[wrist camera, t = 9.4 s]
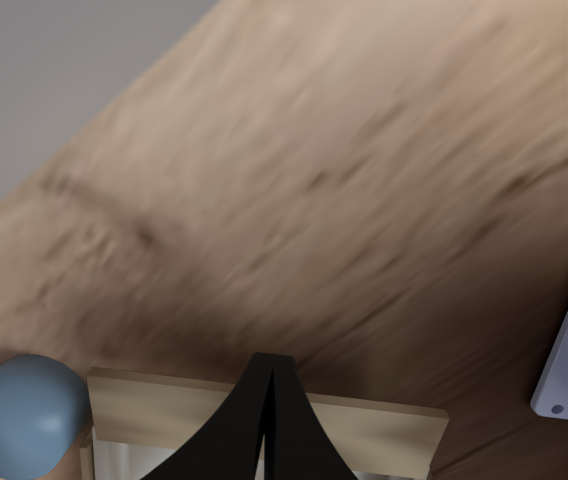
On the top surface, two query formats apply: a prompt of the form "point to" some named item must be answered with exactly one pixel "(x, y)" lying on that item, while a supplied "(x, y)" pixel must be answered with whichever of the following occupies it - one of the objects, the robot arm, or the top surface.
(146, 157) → the top surface
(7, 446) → the blue pebble
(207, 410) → the flap
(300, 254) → the top surface
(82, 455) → the carton
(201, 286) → the top surface
